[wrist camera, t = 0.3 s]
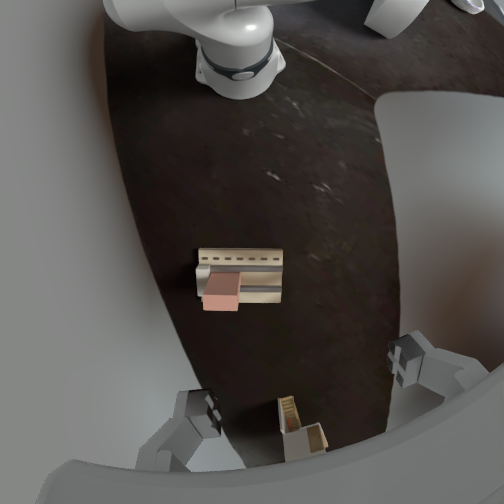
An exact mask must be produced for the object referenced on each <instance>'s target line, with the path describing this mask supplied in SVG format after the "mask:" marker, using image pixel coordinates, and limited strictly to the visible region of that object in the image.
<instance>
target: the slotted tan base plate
mask: <svg viewBox="0 0 504 504" xmlns="http://www.w3.org/2000/svg"><path fill="white" fill-rule="evenodd" d="M282 260H283V250H282V249H252V248H200V249H199V265H198V266H197V268H196V278H197V292H198V296H201V300H202V302H203V292H204V290H205V287H206V285H207V282H208V280H209V278H210V275H211V273H212V272H240V278H241V285H240V293H239V302H243V303H280V301H281V292H282V286H281V282H282V272H283V266H282Z"/></svg>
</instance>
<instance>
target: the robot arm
mask: <svg viewBox="0 0 504 504" xmlns="http://www.w3.org/2000/svg"><path fill="white" fill-rule="evenodd" d="M308 1H315V0H103V3H104V7H105V10H106V12H107V13H108V15H109V16H110V18H111V19H112V20H113V21H114V22H115V23H117V24H118V25H120V26H121V27H123V28H125V29H128V30H130V31H134V32H137V31H147V30H164V31H172V32H177V33H181V34H185V35H188V36H191V37H193V38H195V39H196V47H198V53H197V65H196V80H197V81H198V82H200V83H203V84H206V85H209V86H210V87H211V88H212V89H214V90H215V91H216V92H217V93H219V94H220V95H222V96H224V97H227V98H231V99H248V98H252V97H255V96H257V95H259V94H261V93H262V92H264V91H265V90H266V89H267V88H268V87H269V86H270V85H271V83H272V81H273V79H274V77H275V76H276V74H278V73H279V72H280V71H282V70H283V69H284V68H285V61H284V59H283V57H282V55H281V53H280V51H279V49H278V47H277V45H276V43H275V41H274V39H273V37H272V31H273V17H272V14H271V12H270V10H269V9H268V8H267V7H266V6H269V5H281V4H297V3H303V2H308ZM200 72H201V73H200ZM388 348H389V350H390V352H389V354H388V355H387V362H388V366H389V369H390V370H391V372H392V373H393V374H396V375H397V377H396V380H397V381H398V383H399V384H400V386H401V388H405V387H407V386H409V385H412V384H414V383H416V382H417V383H419V384H421V385H423V386H425V387H427V388H429V389H431V390H433V391H435V392H437V393H438V394H440V395H442V396H445V397H446V398H445V400H444V402H443V404H442V405H440V406H439V407H437V408H435V409H433V410H431V411H429V412H428V413H426V414H424V415H422V416H420V417H418V418H416V419H414V420H412V421H410V422H407V423H405V424H403V425H401V426H399V427H396V428H394V429H392V430H390V431H387V432H385V433H382V434H380V435H377V436H375V437H372V438H369V439H367V440H364V441H361V442H358V443H356V444H353V445H350V446H347V447H343V448H340V449H337V450H334V451H330V452H327V453H323V454H319V455H316V456H312V457H308V458H303V459H299V460H294V461H290V462H285V463H279V464H274V465H268V466H261V467H254V468H246V469H238V470H226V471H210V472H191V471H190V470H189V469H188V468H187V467H186V466H185V465H186V464H187V462H188V461H189V460H190V458H191V457H192V455H193V454H194V452H195V451H196V450H197V448H198V447H199V445H200V444H201V442H202V441H203V439H204V438H214V437H220V436H221V424H220V422H219V420H220V419H221V407H220V404H219V402H218V400H217V399H216V398H214V392H213V390H212V388H207V389H197V390H189V391H179V392H178V394H177V398H176V404H175V409H174V414H173V418H170V419H169V420H168V421H167V422H166V423H165V424H164V425H163V426H162V427H161V428H160V429H159V430H158V431H157V432H156V433H155V434H154V435H153V436H152V437H151V438H150V439H149V440H148V441H147V442H146V443H145V444H144V445H143V446H142V447H141V448H140V449H139V453H138V458H137V462H136V466H135V470H134V469H125V468H118V467H111V466H105V465H99V464H94V463H88V462H84V461H80V460H74V459H72V460H69V461H67V462H65V463H64V464H62V465H61V466H59V467H58V468H56V469H55V470H54V471H52V472H51V473H50V474H49V475H48V476H47V478H46V480H45V482H44V483H43V486H42V488H41V490H40V493H39V495H38V498H37V500H36V503H35V504H504V363H503V364H501V365H500V366H499V367H498V368H496V369H495V370H494V371H492V372H491V373H489V372H488V371H487V370H486V369H485V368H484V367H483V366H482V365H481V364H480V363H479V361H478V360H476V359H474V358H470V357H466V356H463V355H460V354H456V353H453V352H450V351H446V350H443V349H439V348H437V349H435V348H434V347H433V346H432V345H431V344H430V343H429V341H428V340H427V339H426V338H425V337H424V336H423V335H422V334H421V333H420V332H419V331H418V330H416V331H414V332H411V333H409V334H407V335H404V336H402V337H399V338H397V339H395V340H392V341H390V342H389V345H388Z"/></svg>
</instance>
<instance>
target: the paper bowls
mask: <svg viewBox="0 0 504 504" xmlns="http://www.w3.org/2000/svg"><path fill="white" fill-rule="evenodd" d="M451 1H452V2H453V3H454V4H455V5H456V6H457V7H459V8H460V9H462V10H464V11H467V12H469V13H471V14H476V13H478V12H480V11H482V10H483V9H484V4H483V1H482V0H451Z"/></svg>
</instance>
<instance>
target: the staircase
mask: <svg viewBox="0 0 504 504" xmlns="http://www.w3.org/2000/svg"><path fill="white" fill-rule="evenodd" d="M278 408H279V420H280V430H281V432H282V433H283V440H284V451H285V462H290V461H294V460H299V459H303V458H308V457H312V456H316V455H319V454H323V453H326V451H325V447H328V443H327V441H326V438H325V436H324V433H323V431H322V428H321V426H320V423H316V424H313V425H309V426H306V427H301V423H300V420H299V417H298V413H297V410H296V407H295V403H294V398H293V397H292V396H288V397H284V398H278Z"/></svg>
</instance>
